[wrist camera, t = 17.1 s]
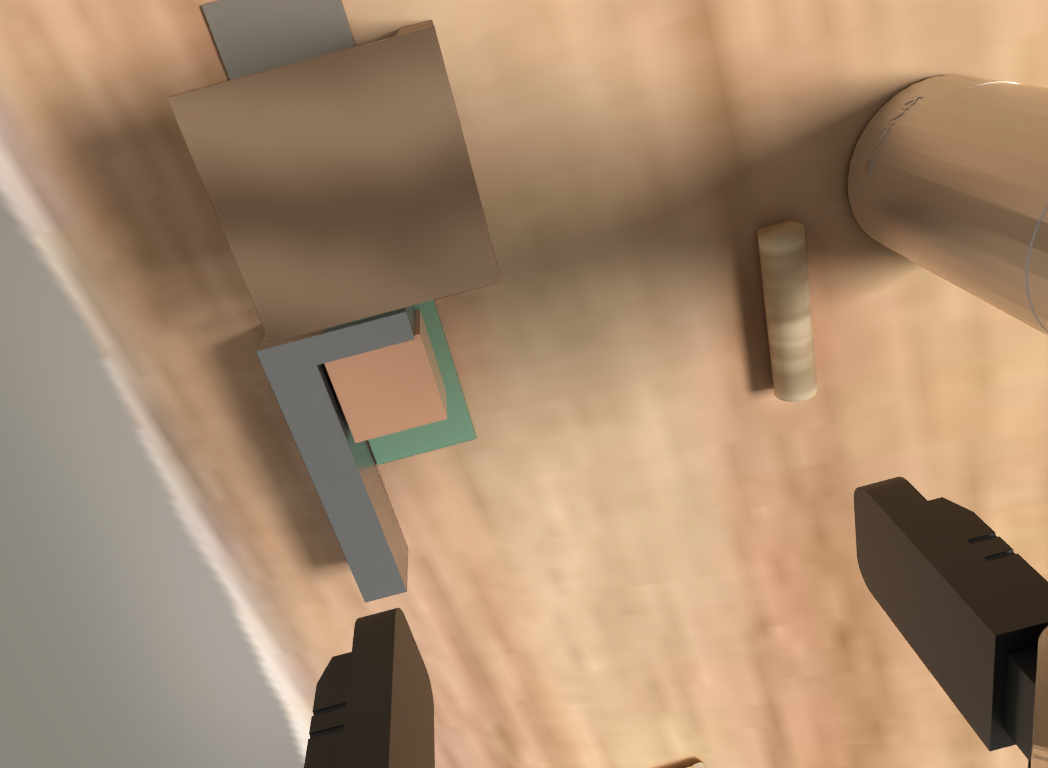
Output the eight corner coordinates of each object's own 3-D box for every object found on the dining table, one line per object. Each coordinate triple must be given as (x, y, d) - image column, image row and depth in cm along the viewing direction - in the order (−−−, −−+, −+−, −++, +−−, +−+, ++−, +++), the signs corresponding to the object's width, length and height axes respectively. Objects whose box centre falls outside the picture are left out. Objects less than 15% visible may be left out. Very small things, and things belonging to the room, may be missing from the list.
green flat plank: (202, 5, 35) (201, 5, 35) (331, -30, 35) (331, -30, 35) (377, 464, 47) (377, 465, 47) (476, 437, 47) (476, 438, 47)
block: (330, 333, 43) (322, 359, 40) (420, 309, 43) (419, 333, 40) (360, 411, 45) (355, 443, 42) (445, 389, 45) (447, 418, 42)
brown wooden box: (222, 75, 37) (166, 98, 29) (431, 19, 37) (434, 26, 29) (299, 275, 41) (270, 343, 33) (486, 225, 41) (501, 281, 33)
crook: (270, 320, 42) (255, 351, 39) (407, 284, 42) (405, 311, 39) (369, 558, 50) (365, 602, 46) (485, 527, 50) (490, 569, 46)
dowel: (759, 223, 44) (754, 239, 42) (806, 218, 43) (802, 234, 41) (776, 381, 48) (772, 402, 46) (818, 380, 47) (816, 401, 45)
